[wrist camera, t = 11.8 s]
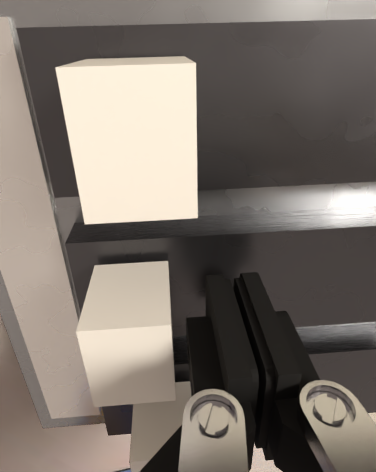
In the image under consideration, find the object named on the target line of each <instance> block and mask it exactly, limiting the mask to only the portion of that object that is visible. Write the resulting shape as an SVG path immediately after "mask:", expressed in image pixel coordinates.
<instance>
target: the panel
mask: <svg viewBox="0 0 376 472" xmlns="http://www.w3.org/2000/svg"><path fill="white" fill-rule="evenodd" d="M173 56H185V57H187V58H188V59H190V60H192V61H193V62H195V63H196V106H197V196H198V218H193V219H175V220H157V221H138V222H120V223H102V224H85V223H84V218H83V212H82V207H81V202H80V196H79V191H78V186H77V181H76V175H75V170H74V165H73V159H72V154H71V149H70V143H69V138H68V133H67V127H66V122H65V117H64V111H63V106H62V101H61V95H60V90H59V85H58V79H57V74H56V69H55V67H59V66H62V65H66V64H70V63H74V62H77V61H81V60H85V59H105V58H139V57H173ZM157 261H168V266H169V283H170V299H171V316H172V333H173V353H174V373H175V382H187V381H190V376H189V365H188V354H187V338H186V318H188V317H202V316H206V275H218V274H223V276H224V279H225V278H230V280H231V283H232V287H233V284H234V278H239V276H240V273H250V272H258V274H259V276H260V278H261V280H262V283H263V285H264V287H265V289H266V292H267V294H268V296H269V299H270V301H271V303H272V306H273V308H274V310H275V311H286V312H287V313H288V314H289V316H290V318H291V320H292V322H293V324H294V326H295V328H296V330H297V332H298V334H299V337H300V339H301V341H302V343H303V345H304V347H305V349H306V351H307V353H308V355H309V357H310V359H311V361H312V364H313V366H314V368H315V370H316V372H317V374H318V376H319V378H320V380H327V381H332V382H335V383H337V384H339V385H342V386H343V387H345V388H346V389H348V390H349V391H350V392H351V393H352V394H353V395H354V396H355V397H356V398H357V399H358V401H359V402H360V403H361V405H362V406H363V407H364V409H365V410H366V412H367V413H373V412H376V0H0V314H1V317H2V320H3V322H4V325H5V328H6V331H7V333H8V336H9V339H10V341H11V344H12V347H13V349H14V352H15V355H16V357H17V360H18V363H19V365H20V368H21V371H22V374H23V376H24V379H25V382H26V384H27V387H28V390H29V392H30V395H31V398H32V400H33V403H34V406H35V408H36V411H37V414H38V417H39V419H40V422H41V425H42V427H43V428H52V427H64V426H76V425H88V424H100V423H105V424H106V428H107V432H108V435H120V434H131V431H132V416H133V404H127V405H115V406H103V407H94V404H93V400H92V396H91V392H90V387H89V383H88V379H87V375H86V371H85V367H84V363H83V359H82V354H81V350H80V346H79V342H78V338H77V334H76V330H77V326H78V323H79V319H80V316H81V312H82V309H83V305H84V301H85V298H86V294H87V291H88V287H89V284H90V280H91V276H92V273H93V269H94V266H95V265H107V264H124V263H140V262H157Z"/></svg>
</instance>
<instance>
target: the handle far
mask: <svg viewBox="0 0 376 472" xmlns="http://www.w3.org/2000/svg"><path fill="white" fill-rule="evenodd" d="M175 393H176V401H164V402H152V403H140V404H133V416H132V431H131V445H130V460H129V463H130V468H131V472H140V471H141V469H142V468H143V467H144V466H145V465H146V464H147V463H148V462H149V461H150V459H151V458H152V457H153V456H154V455H155V454H156V453H157V452H158V451H159V449H160V448H161V447H162V446H163V445H164V444H165V443H166V442H167V440H168V439H169V438H170V437H171V436H172V435H173V434H174V433H175V432H176V430H177V429H178V428H179V427H180V426H181V425H182V423H183V413H184V409H185V405H186V404H187V402H188V401H189V399H190V398H191V397H192V396H191V386H190V381H187V382H175Z"/></svg>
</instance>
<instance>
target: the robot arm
mask: <svg viewBox="0 0 376 472" xmlns="http://www.w3.org/2000/svg"><path fill="white" fill-rule="evenodd" d="M186 338H187V354H188V365H189V376H190V386H191V396H192V397H191V398H190V399H189V401H188V402H187V404H186V405H185V409H184V413H183V423H182V425H181V426H180V427H179V428H178V429H177V430H176V432H175V433H174V434H173V435H172V436H171V437H170V438H169V439H168V440H167V442H166V443H165V444H164V445H163V446H162V447H161V448H160V449H159V451H158V452H157V453H156V454H155V455H154V456H153V457H152V458H151V459H150V461H149V462H148V463H147V464H146V465H145V466H144V467H143V468H142V469H141V471H140V472H249V470H250V469H251V464H252V456H253V447H254V442H255V446H256V448H263V452H264V456H265V460H274V464H275V466H276V467H277V468H279V469H280V470H281V471H283V472H376V424H375V422H374V421H373V420H372V418H371V417H370V416H369V414H368V413H367V412H366V410H365V409H364V407H363V406H362V405H361V403H360V402H359V401H358V399H357V398H356V397H355V396H354V395H353V394H352V393H351V392H350V391H349V390H348V389H346V388H345V387H343V386H342V385H339V384H337V383H335V382H332V381H327V380H320V378H319V376H318V374H317V372H316V370H315V368H314V366H313V364H312V361H311V359H310V357H309V355H308V353H307V351H306V349H305V347H304V345H303V343H302V341H301V339H300V337H299V334H298V332H297V330H296V328H295V326H294V324H293V322H292V320H291V318H290V316H289V314H288V313H287V312H286V311H275V310H274V308H273V306H272V303H271V301H270V299H269V296H268V294H267V292H266V289H265V287H264V285H263V283H262V280H261V278H260V276H259V274H258V272H250V273H240V276H239V278H234V284H233V287H232V283H231V280H230V278H225V279H224V276H223V274H218V275H206V316H202V317H188V318H186Z"/></svg>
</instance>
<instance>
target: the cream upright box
mask: <svg viewBox="0 0 376 472" xmlns="http://www.w3.org/2000/svg"><path fill="white" fill-rule="evenodd" d="M55 69H56V74H57V79H58V85H59V90H60V95H61V101H62V106H63V111H64V117H65V122H66V127H67V133H68V138H69V143H70V149H71V154H72V159H73V165H74V170H75V175H76V181H77V186H78V191H79V196H80V202H81V207H82V212H83V218H84V223H85V224H102V223H120V222H138V221H157V220H175V219H193V218H198V196H197V106H196V63H195V62H193V61H192V60H190V59H188V58H187V57H185V56H173V57H139V58H105V59H85V60H81V61H77V62H74V63H70V64H66V65H62V66H59V67H55Z"/></svg>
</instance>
